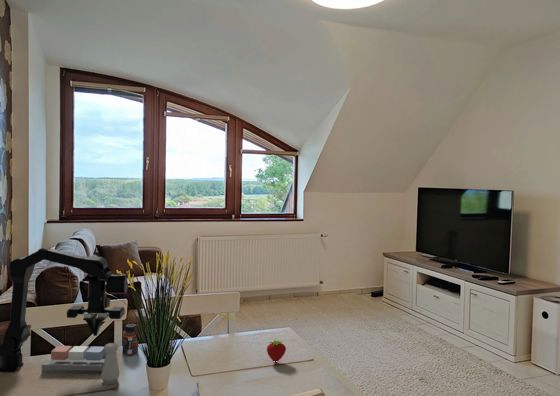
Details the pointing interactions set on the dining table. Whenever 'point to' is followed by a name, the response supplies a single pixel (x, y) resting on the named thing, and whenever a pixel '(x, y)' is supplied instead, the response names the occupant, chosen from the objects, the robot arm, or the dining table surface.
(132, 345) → the supplement bottle
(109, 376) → the salt shaker
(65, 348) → the key red
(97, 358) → the blue-grey square block
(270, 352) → the strawberry
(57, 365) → the panel
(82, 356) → the off-white square block
